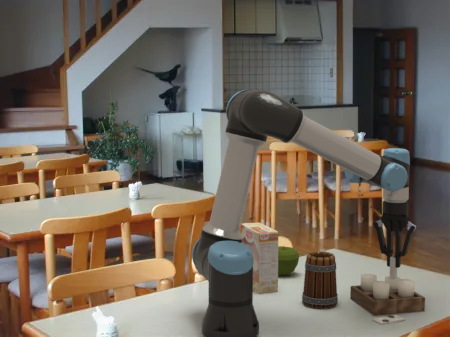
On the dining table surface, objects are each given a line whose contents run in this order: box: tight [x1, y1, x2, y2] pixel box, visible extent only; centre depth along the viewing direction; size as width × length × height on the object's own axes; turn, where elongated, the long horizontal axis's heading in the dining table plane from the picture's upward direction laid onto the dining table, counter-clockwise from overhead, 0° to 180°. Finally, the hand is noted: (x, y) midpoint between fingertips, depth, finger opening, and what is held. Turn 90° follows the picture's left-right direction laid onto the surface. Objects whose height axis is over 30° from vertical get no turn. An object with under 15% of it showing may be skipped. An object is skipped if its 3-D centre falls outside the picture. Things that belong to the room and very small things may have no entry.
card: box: [371, 314, 406, 326], centre depth 205 cm, size 8×4×1 cm, turn 115°
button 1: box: [360, 273, 378, 292], centre depth 220 cm, size 5×5×5 cm
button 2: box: [373, 280, 389, 301], centre depth 213 cm, size 5×5×5 cm
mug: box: [301, 248, 339, 310], centre depth 221 cm, size 16×11×15 cm
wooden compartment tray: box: [349, 284, 426, 317], centre depth 218 cm, size 16×16×4 cm
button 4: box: [398, 278, 415, 298], centre depth 215 cm, size 5×5×5 cm
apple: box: [278, 245, 300, 277], centre depth 250 cm, size 11×10×10 cm
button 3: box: [384, 275, 402, 290], centre depth 223 cm, size 5×5×5 cm
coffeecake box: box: [240, 221, 279, 295], centre depth 235 cm, size 15×7×20 cm, turn 21°
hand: (393, 277), depth 222 cm, fingers closed
